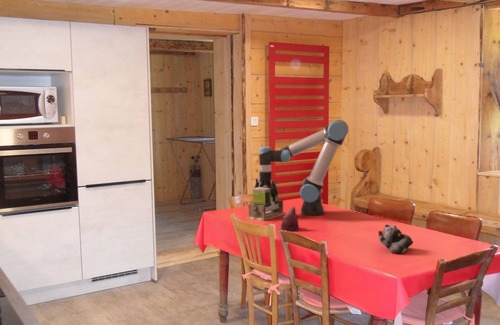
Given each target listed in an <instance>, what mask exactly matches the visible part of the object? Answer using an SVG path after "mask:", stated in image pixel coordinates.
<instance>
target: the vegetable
mask: <svg viewBox="0 0 500 325" xmlns="http://www.w3.org/2000/svg"><path fill="white" fill-rule="evenodd" d="M299 227H300V226H299V221H298V216H297V214H296V206H292V207H291V208H289V210H288V211H287V212H285V214H284V215H283V217H282V220H281V224H280V229H282V230H281V231H284V230H286V231H285V232H295V231H298V230H299Z"/></svg>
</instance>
